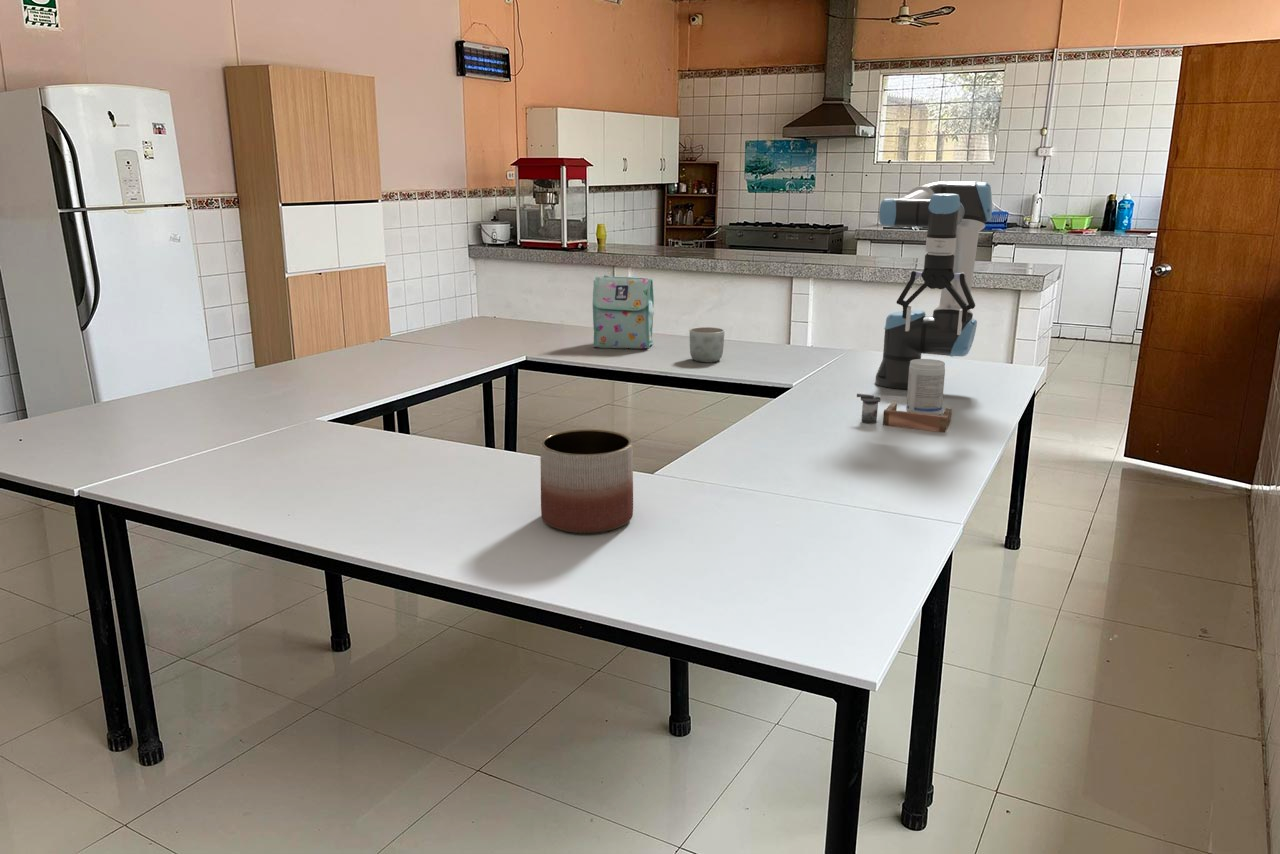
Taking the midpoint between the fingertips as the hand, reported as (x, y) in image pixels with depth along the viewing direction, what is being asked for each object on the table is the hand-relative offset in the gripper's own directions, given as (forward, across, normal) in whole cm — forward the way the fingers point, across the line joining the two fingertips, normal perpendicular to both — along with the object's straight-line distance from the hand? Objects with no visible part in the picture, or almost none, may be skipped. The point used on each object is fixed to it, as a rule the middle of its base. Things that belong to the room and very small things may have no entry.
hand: (932, 332), depth 250 cm
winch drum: (+22, -13, -16) cm, 30 cm away
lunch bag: (+25, -120, +54) cm, 134 cm away
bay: (+23, -1, -12) cm, 26 cm away
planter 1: (+20, -48, -112) cm, 124 cm away
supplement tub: (+23, -1, 0) cm, 23 cm away
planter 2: (+24, -82, +43) cm, 95 cm away
